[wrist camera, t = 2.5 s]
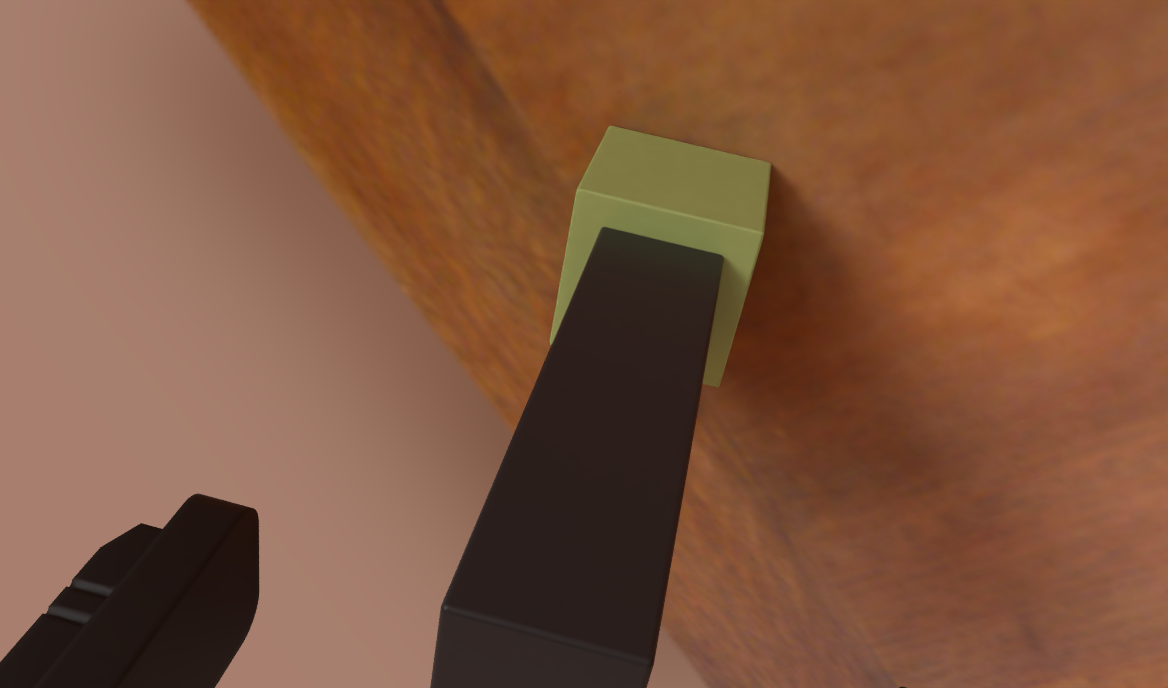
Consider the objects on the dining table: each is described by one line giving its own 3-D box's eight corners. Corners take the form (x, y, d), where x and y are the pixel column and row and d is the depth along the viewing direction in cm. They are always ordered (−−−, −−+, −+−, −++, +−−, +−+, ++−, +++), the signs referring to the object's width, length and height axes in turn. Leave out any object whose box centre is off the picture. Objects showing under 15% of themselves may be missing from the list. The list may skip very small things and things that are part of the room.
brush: (581, 267, 24) (371, 758, 13) (609, 124, 22) (390, 552, 11) (731, 304, 24) (652, 838, 13) (772, 162, 22) (722, 642, 11)
